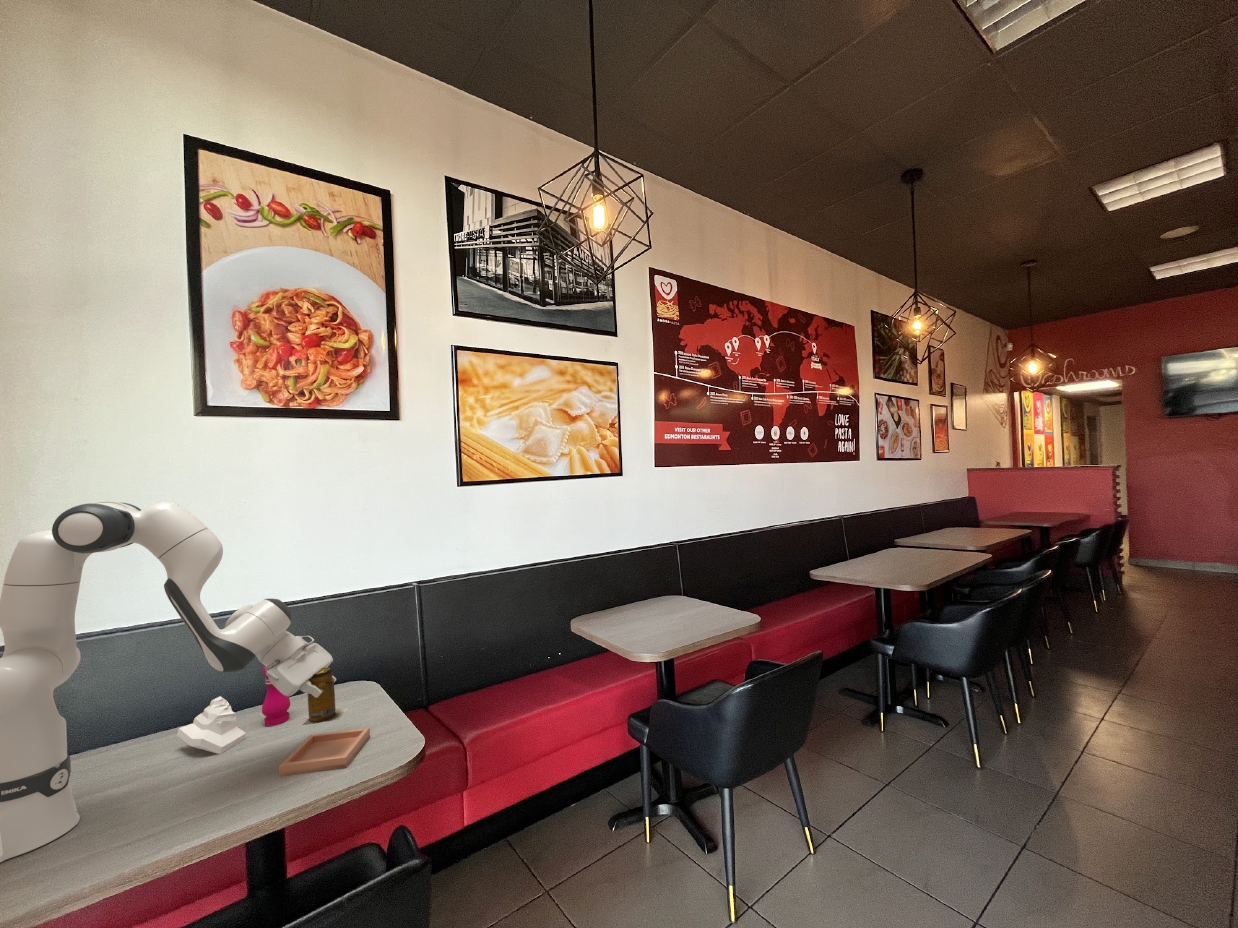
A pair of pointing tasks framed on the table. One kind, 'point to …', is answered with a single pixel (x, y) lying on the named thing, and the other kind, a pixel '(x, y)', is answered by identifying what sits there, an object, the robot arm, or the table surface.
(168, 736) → the table surface
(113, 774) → the table surface
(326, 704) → the condiment
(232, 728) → the white stepped rock sculpture
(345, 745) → the tray
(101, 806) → the table surface
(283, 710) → the pepper mill
